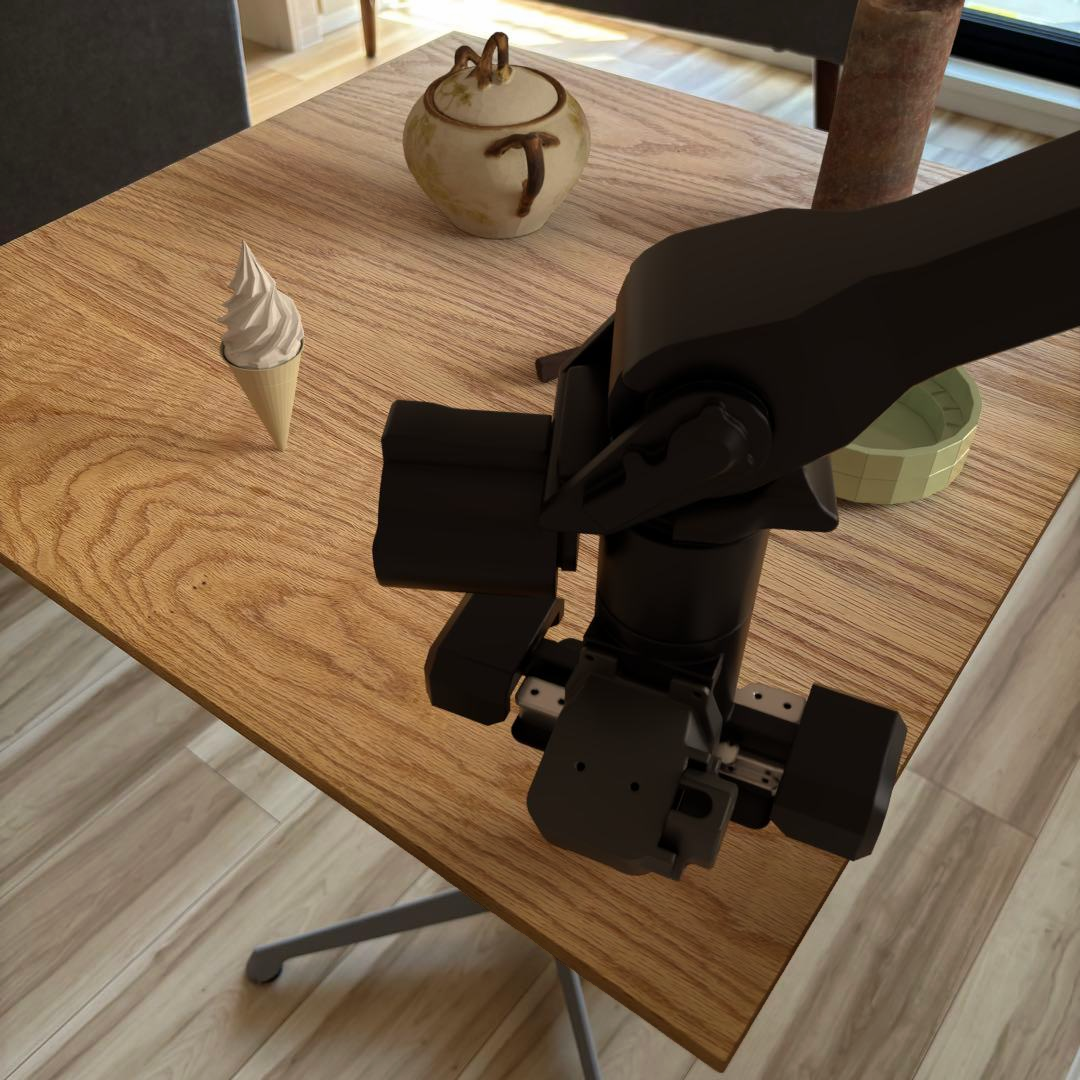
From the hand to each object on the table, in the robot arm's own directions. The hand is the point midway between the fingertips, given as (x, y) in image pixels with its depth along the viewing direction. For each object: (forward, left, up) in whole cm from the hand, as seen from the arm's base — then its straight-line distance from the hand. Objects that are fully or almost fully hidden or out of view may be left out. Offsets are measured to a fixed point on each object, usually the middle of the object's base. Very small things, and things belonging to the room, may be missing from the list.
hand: (643, 816), depth 52 cm
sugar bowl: (+31, -50, -3) cm, 59 cm away
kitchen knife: (+13, -37, -3) cm, 40 cm away
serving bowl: (-3, -33, -2) cm, 34 cm away
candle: (+3, -58, -3) cm, 59 cm away
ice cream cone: (+31, -17, -3) cm, 36 cm away
